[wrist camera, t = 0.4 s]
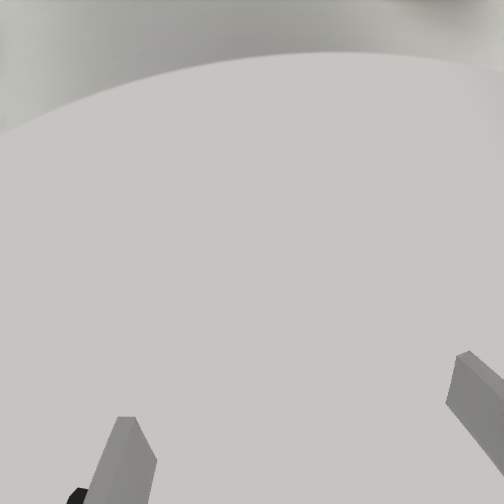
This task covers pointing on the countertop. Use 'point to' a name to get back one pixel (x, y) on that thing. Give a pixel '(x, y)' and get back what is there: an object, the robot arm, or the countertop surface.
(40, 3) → the countertop surface
